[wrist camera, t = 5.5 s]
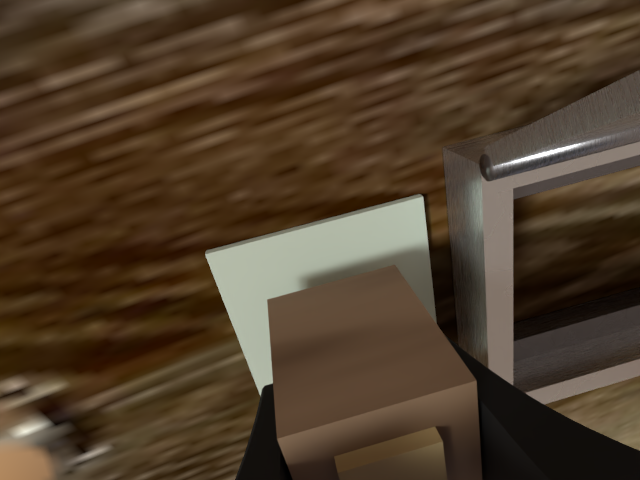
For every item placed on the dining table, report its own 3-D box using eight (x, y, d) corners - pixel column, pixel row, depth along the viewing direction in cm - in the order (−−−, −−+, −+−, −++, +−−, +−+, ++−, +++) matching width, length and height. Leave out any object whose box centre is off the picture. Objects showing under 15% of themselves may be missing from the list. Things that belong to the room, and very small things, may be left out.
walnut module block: (410, 362, 16) (491, 517, 10) (298, 394, 15) (323, 570, 10) (394, 264, 14) (486, 394, 8) (267, 299, 14) (278, 455, 8)
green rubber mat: (438, 357, 18) (440, 361, 18) (266, 406, 18) (266, 411, 18) (419, 193, 15) (423, 196, 14) (205, 250, 14) (205, 254, 14)
